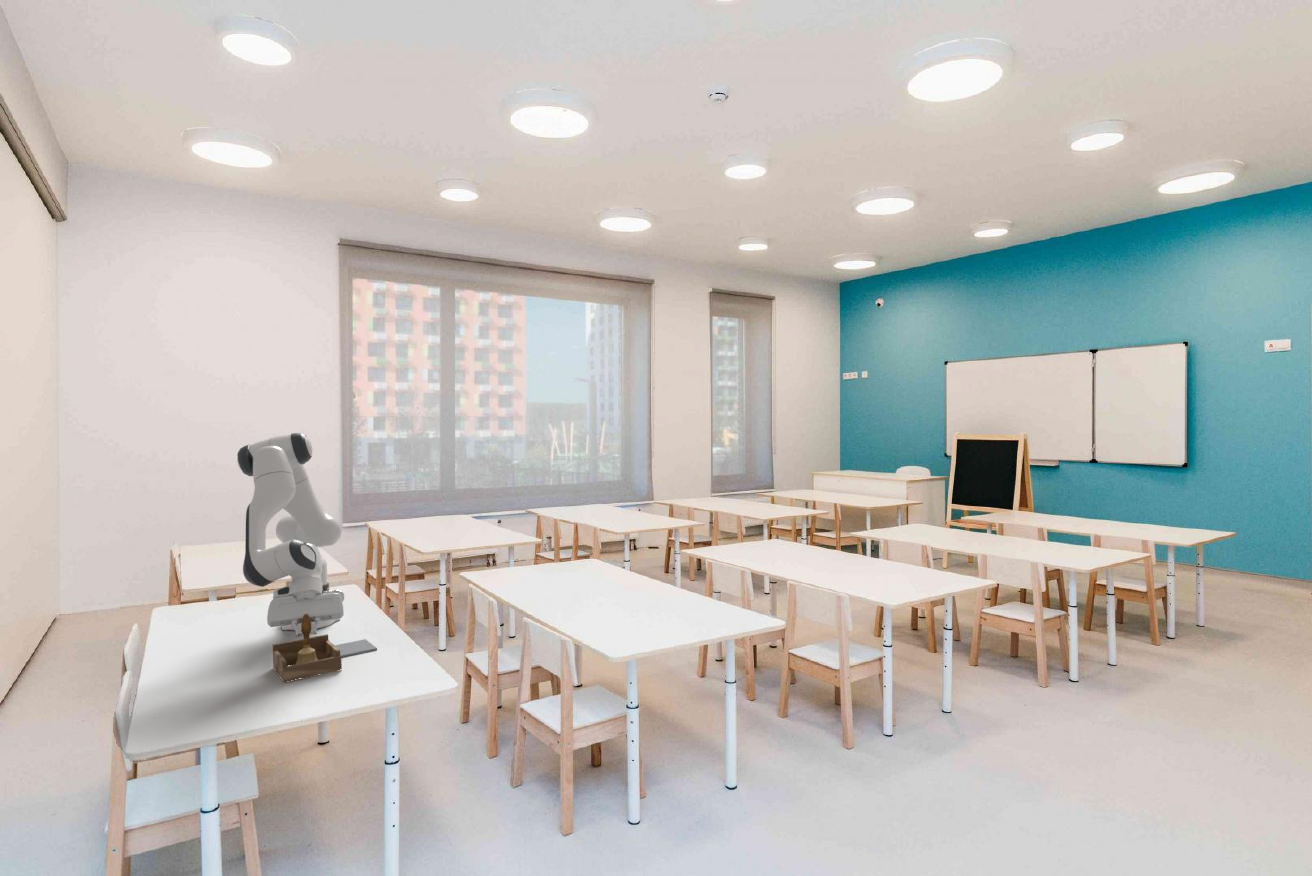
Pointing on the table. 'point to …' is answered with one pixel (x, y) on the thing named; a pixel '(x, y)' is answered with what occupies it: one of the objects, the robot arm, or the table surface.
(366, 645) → the slate mat
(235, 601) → the table surface
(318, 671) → the open wooden box
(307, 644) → the hand bell
